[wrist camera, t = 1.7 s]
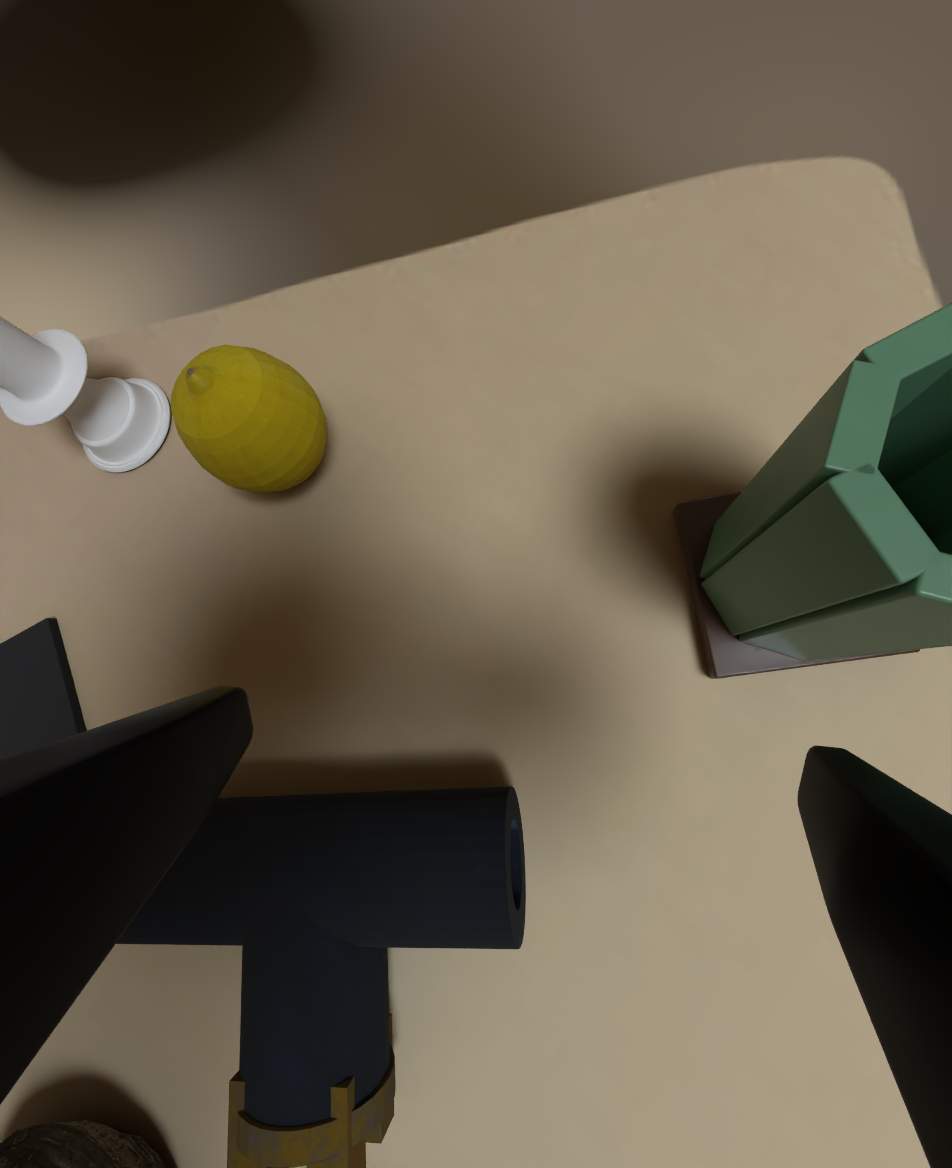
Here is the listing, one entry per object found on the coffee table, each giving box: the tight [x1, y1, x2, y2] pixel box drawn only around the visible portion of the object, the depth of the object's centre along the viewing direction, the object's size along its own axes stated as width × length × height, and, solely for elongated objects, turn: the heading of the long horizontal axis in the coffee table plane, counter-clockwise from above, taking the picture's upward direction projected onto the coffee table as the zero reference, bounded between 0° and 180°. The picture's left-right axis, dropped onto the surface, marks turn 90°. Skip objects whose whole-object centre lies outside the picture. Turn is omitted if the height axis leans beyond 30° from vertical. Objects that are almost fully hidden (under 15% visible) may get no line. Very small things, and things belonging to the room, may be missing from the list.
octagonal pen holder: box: [700, 303, 952, 660], centre depth 15 cm, size 6×6×11 cm
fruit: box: [171, 345, 327, 493], centre depth 22 cm, size 6×6×8 cm
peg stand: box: [673, 492, 920, 679], centre depth 18 cm, size 7×7×6 cm
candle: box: [0, 317, 170, 472], centre depth 23 cm, size 5×5×12 cm
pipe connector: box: [116, 786, 526, 1168], centre depth 19 cm, size 12×5×15 cm
